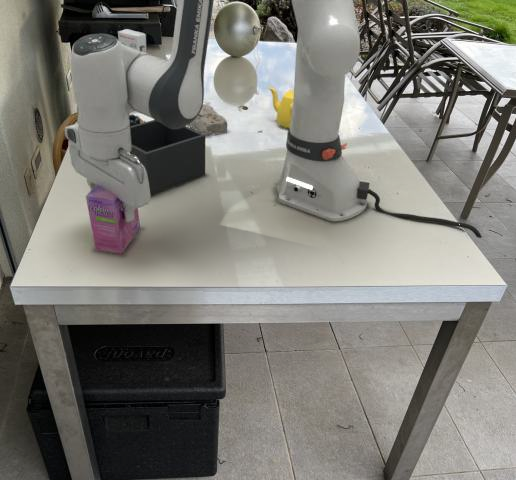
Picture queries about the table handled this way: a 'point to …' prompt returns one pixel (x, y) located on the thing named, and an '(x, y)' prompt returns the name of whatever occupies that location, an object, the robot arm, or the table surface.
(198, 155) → the bin
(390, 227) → the table surface
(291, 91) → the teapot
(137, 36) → the ink box
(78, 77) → the robot arm
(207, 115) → the stone
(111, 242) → the box
